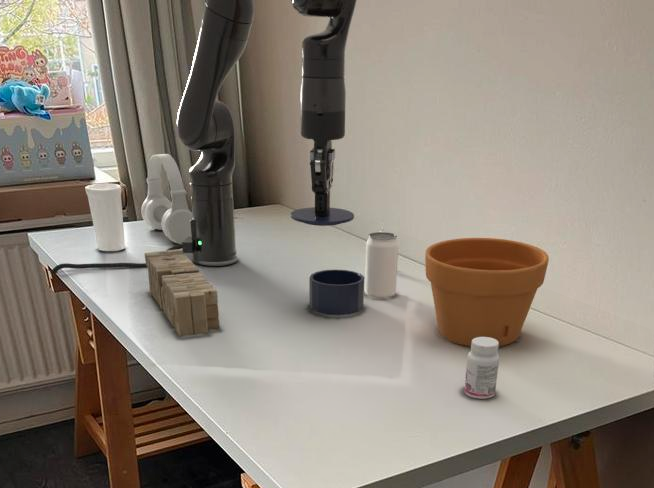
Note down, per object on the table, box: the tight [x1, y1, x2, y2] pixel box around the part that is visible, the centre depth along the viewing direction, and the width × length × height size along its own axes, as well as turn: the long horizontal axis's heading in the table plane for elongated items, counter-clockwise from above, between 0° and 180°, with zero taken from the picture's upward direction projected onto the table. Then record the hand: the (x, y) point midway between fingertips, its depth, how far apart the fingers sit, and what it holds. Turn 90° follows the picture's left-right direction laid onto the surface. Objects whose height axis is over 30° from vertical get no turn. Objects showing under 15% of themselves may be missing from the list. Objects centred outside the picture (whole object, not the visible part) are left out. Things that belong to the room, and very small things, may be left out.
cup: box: [84, 183, 126, 252], centre depth 182 cm, size 8×8×14 cm
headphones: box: [140, 153, 193, 245], centre depth 193 cm, size 20×8×19 cm, turn 31°
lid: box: [290, 184, 355, 227], centre depth 138 cm, size 11×11×6 cm
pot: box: [308, 269, 365, 316], centre depth 150 cm, size 10×10×6 cm
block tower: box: [144, 248, 220, 337], centre depth 147 cm, size 8×8×29 cm
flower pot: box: [424, 237, 550, 348], centre depth 138 cm, size 21×21×15 cm
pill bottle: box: [463, 337, 500, 400], centre depth 117 cm, size 5×5×8 cm
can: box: [364, 231, 399, 298], centre depth 157 cm, size 6×6×12 cm
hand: (322, 212), depth 139 cm, fingers closed on lid, 2 cm apart
